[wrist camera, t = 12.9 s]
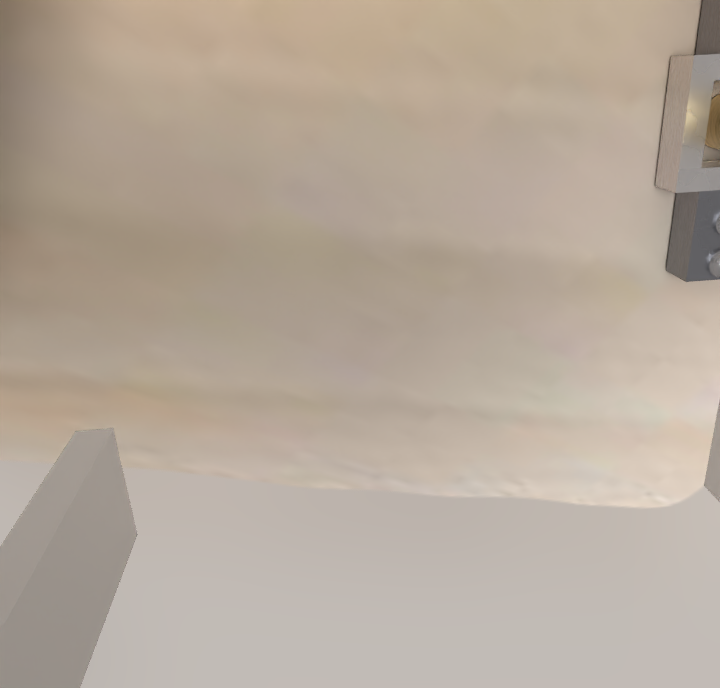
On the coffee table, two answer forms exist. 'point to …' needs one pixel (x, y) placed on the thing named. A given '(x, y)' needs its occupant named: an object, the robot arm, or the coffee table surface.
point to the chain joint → (692, 155)
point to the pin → (714, 124)
